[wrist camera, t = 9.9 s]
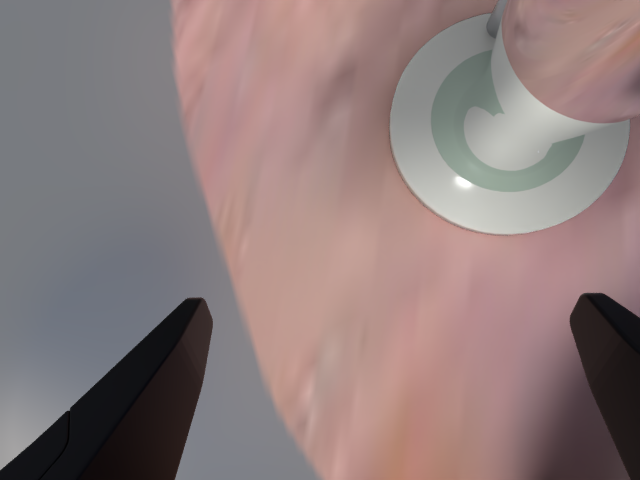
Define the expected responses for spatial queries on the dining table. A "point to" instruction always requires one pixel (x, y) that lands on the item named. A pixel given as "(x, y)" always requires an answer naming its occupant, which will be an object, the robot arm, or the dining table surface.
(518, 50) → the beer glass
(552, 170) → the grey peg stand
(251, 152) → the dining table surface
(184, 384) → the robot arm
